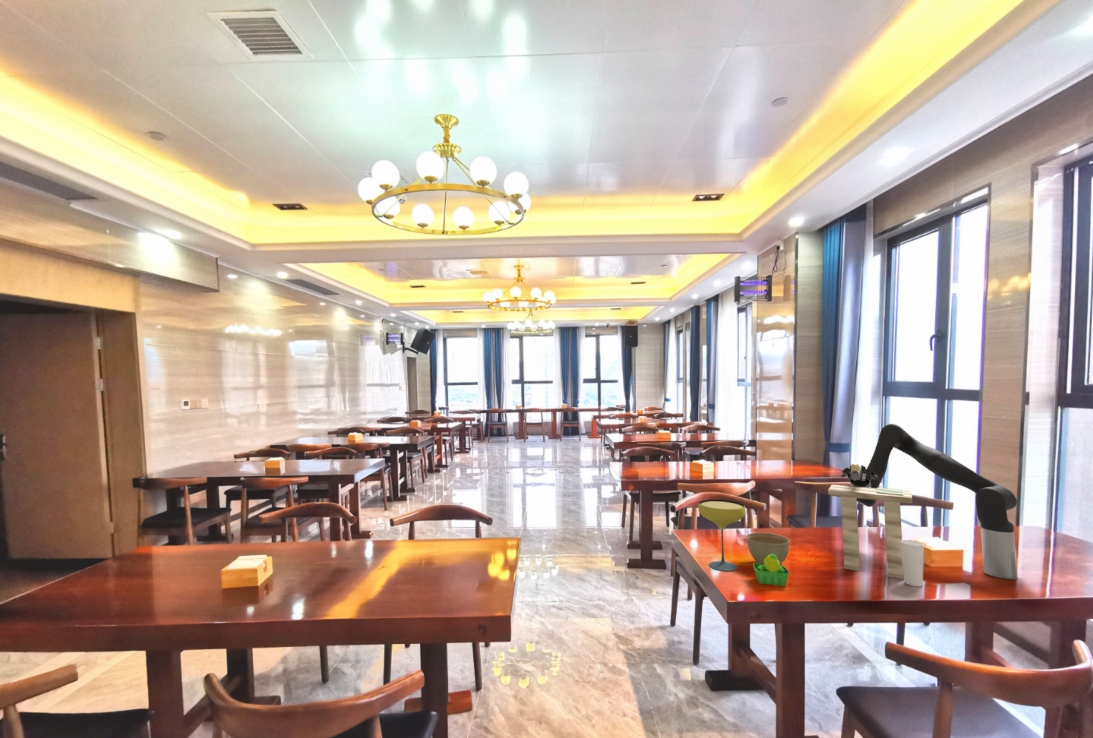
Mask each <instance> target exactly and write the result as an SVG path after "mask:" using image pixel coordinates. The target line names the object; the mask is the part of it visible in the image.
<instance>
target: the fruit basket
mask: <svg viewBox="0 0 1093 738" xmlns="http://www.w3.org/2000/svg"><path fill="white" fill-rule="evenodd" d="M752 565H753V566H752V567H753V569H754V572H755V573H754V574H755V577H756V579H757V582H758V583H759V584H760V585H764V584H765V585H772V586H773V585H774V586H783V587H786V585H787V582H788V578H789V576H790V572H789V571H788V569H787V567H786V566H783V565H782V566H780V562H779V560H778V558H777V557H776V555H774V554H770V555H768V556H767V557H766V558H765V559H764V564H756V563H752Z"/></svg>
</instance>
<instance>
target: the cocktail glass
mask: <svg viewBox="0 0 1093 738" xmlns="http://www.w3.org/2000/svg"><path fill="white" fill-rule="evenodd" d="M697 505H698V506H697V507H698V512H699V514H700V515H701V516H702V517H703V518H704V519H707V520H708V521H710V522H712V523H714V524H715V525H716V526H717V527H718V528H719V530H720V531H721V533H720V534H721V560H720V561H719V560H715V561H710V562H709V564H708V567H710V568H711V569H713V570H715V569H716V570H715V571H719V570H720V571H721V572H734V571H735V572H736V570H738V566H737V565H736V564H734V563H731V562H728V561H726V559H725V551H724V530H725V529H726V528H727V526H729V525H731V524H733V523H736V522H738V521H740V520H742V519H743V518H744V517H745V516H746V506H745V504H743V503H741V502H739V501H735V500H729V499H727V500H726V499H704V500H699V502H698V504H697Z"/></svg>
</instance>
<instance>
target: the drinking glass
mask: <svg viewBox="0 0 1093 738" xmlns="http://www.w3.org/2000/svg"><path fill="white" fill-rule="evenodd" d="M900 552H901V559H902V566H903V572H904V579H903V580H904V581H903V582H904V583H905V584H907V585H909V586H910V587H916V588H918V587H919V588H921V587H923V585H924V580H923V579H924V563H925V562H924V561H925V560H924V559H925V557H924V556H925V555H924V554H925V553H924V552H925V549H924V544H923V543H922V542H919V541H915V540H911V539H910V540H909V539H902V540H901V541H900Z"/></svg>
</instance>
